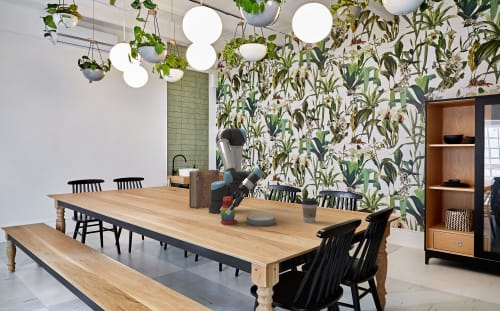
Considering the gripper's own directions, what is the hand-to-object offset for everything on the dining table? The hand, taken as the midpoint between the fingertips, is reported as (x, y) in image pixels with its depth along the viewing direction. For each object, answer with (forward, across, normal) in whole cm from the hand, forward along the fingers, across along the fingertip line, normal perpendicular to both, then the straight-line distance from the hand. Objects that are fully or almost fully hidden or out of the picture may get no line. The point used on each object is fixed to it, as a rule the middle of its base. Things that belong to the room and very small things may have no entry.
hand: (223, 212), depth 228 cm
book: (-3, +70, -14) cm, 71 cm away
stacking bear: (+3, 0, -8) cm, 8 cm away
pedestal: (-11, -10, -21) cm, 26 cm away
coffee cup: (-33, -20, -44) cm, 58 cm away
